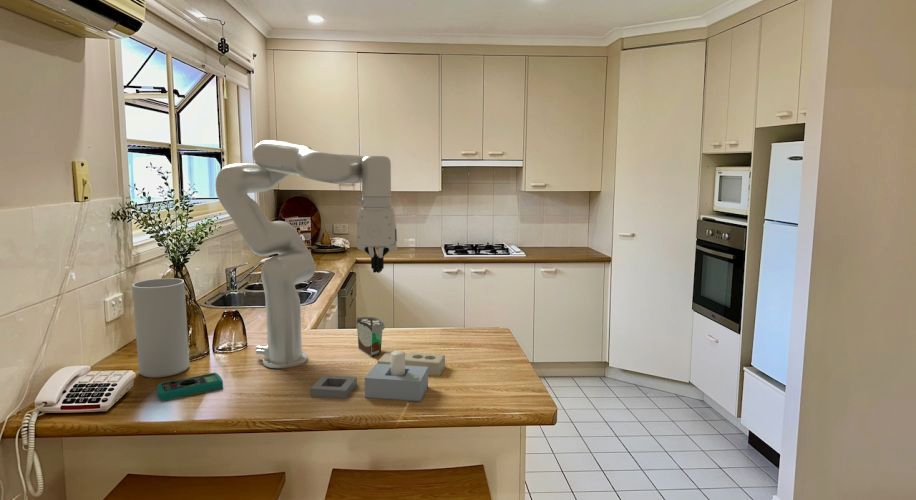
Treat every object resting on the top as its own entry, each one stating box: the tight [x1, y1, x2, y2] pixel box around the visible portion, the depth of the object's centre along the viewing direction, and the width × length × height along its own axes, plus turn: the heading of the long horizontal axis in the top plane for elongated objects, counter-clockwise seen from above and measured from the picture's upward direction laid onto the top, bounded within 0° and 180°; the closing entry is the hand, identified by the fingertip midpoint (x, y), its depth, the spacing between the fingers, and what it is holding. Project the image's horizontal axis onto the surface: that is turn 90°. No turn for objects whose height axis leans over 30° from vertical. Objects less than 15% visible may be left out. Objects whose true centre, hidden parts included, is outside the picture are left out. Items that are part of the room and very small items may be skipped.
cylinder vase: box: [131, 277, 190, 379], centre depth 153 cm, size 12×12×25 cm
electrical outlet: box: [377, 351, 446, 377], centre depth 158 cm, size 7×4×18 cm
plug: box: [390, 350, 406, 377], centre depth 140 cm, size 4×4×10 cm
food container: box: [355, 316, 385, 358], centre depth 171 cm, size 12×6×10 cm, turn 34°
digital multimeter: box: [156, 372, 224, 402], centre depth 141 cm, size 7×15×3 cm, turn 125°
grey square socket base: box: [309, 374, 358, 400], centre depth 141 cm, size 9×9×2 cm
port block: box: [364, 363, 429, 404], centre depth 140 cm, size 14×10×6 cm
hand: (377, 271), depth 148 cm, fingers closed
